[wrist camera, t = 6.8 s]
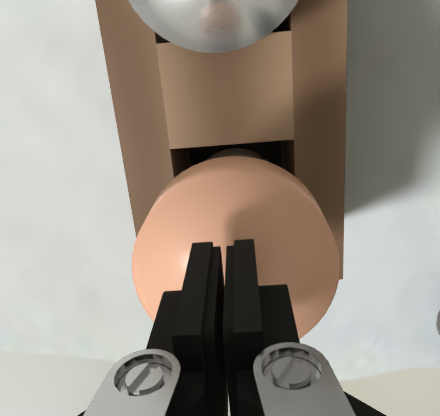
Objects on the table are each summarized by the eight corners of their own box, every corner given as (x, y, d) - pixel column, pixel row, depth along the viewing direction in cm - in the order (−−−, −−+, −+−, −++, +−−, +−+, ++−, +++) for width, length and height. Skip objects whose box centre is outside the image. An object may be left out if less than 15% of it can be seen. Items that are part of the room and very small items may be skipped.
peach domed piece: (301, 119, 18) (341, 166, 11) (303, 246, 20) (338, 353, 13) (162, 130, 18) (115, 182, 11) (179, 253, 20) (148, 361, 14)
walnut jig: (317, -129, 19) (351, -205, 13) (319, 226, 25) (342, 279, 19) (116, -105, 19) (66, -167, 14) (166, 235, 25) (145, 289, 20)
